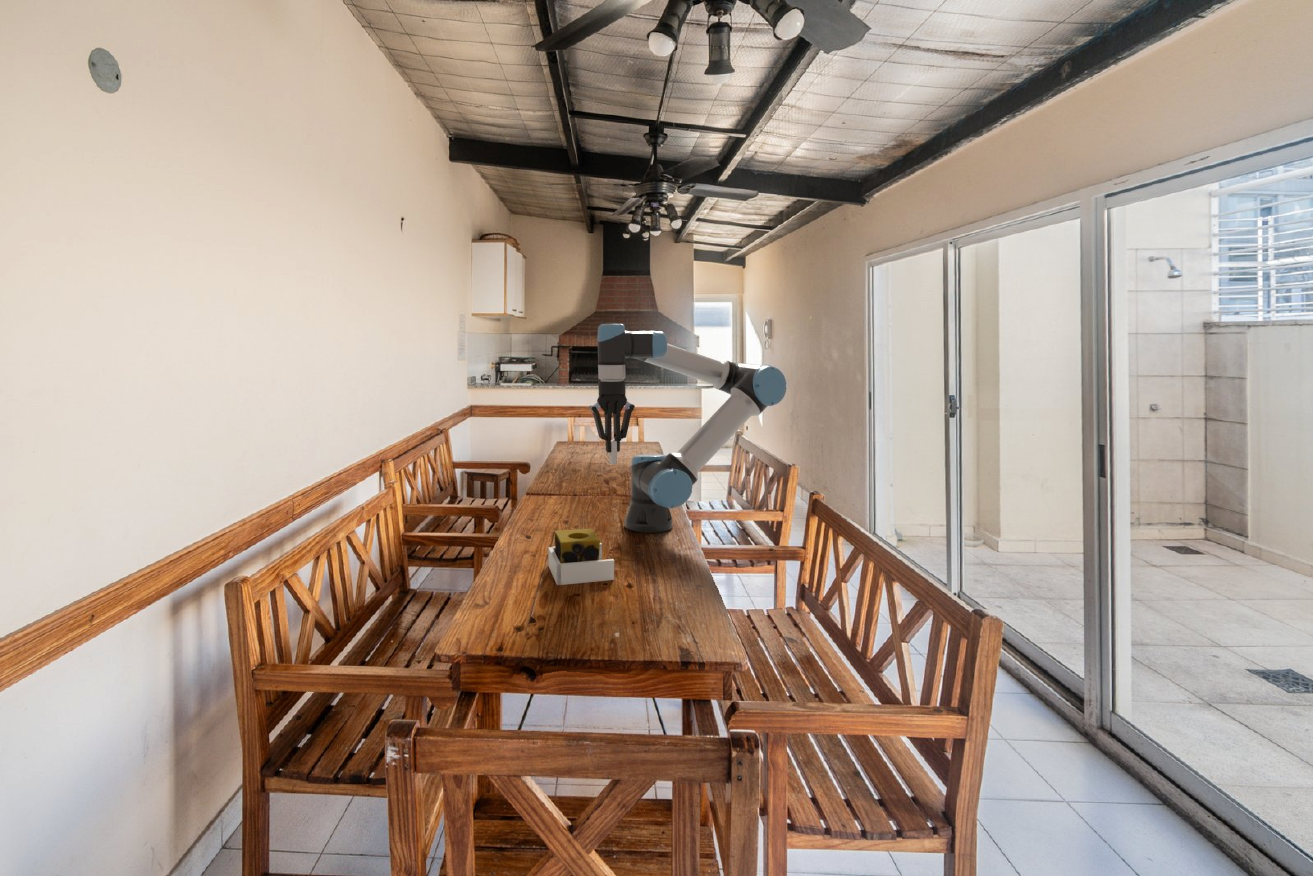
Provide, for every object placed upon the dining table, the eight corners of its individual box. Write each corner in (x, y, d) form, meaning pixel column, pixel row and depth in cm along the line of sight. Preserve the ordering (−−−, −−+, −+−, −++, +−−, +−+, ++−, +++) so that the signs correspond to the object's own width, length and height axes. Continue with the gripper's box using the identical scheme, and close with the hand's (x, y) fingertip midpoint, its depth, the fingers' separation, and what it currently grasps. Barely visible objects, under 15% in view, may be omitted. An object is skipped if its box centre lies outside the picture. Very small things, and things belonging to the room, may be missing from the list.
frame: (600, 560, 169) (601, 542, 169) (613, 579, 156) (614, 560, 156) (548, 565, 165) (548, 547, 164) (557, 585, 152) (557, 565, 151)
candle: (553, 567, 164) (553, 530, 162) (592, 564, 167) (592, 527, 165) (559, 582, 154) (559, 542, 153) (600, 578, 157) (600, 539, 156)
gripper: (629, 378, 183) (630, 459, 186) (585, 380, 178) (587, 462, 181) (638, 380, 176) (639, 464, 180) (593, 381, 171) (595, 467, 175)
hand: (613, 463), depth 181 cm, fingers closed
